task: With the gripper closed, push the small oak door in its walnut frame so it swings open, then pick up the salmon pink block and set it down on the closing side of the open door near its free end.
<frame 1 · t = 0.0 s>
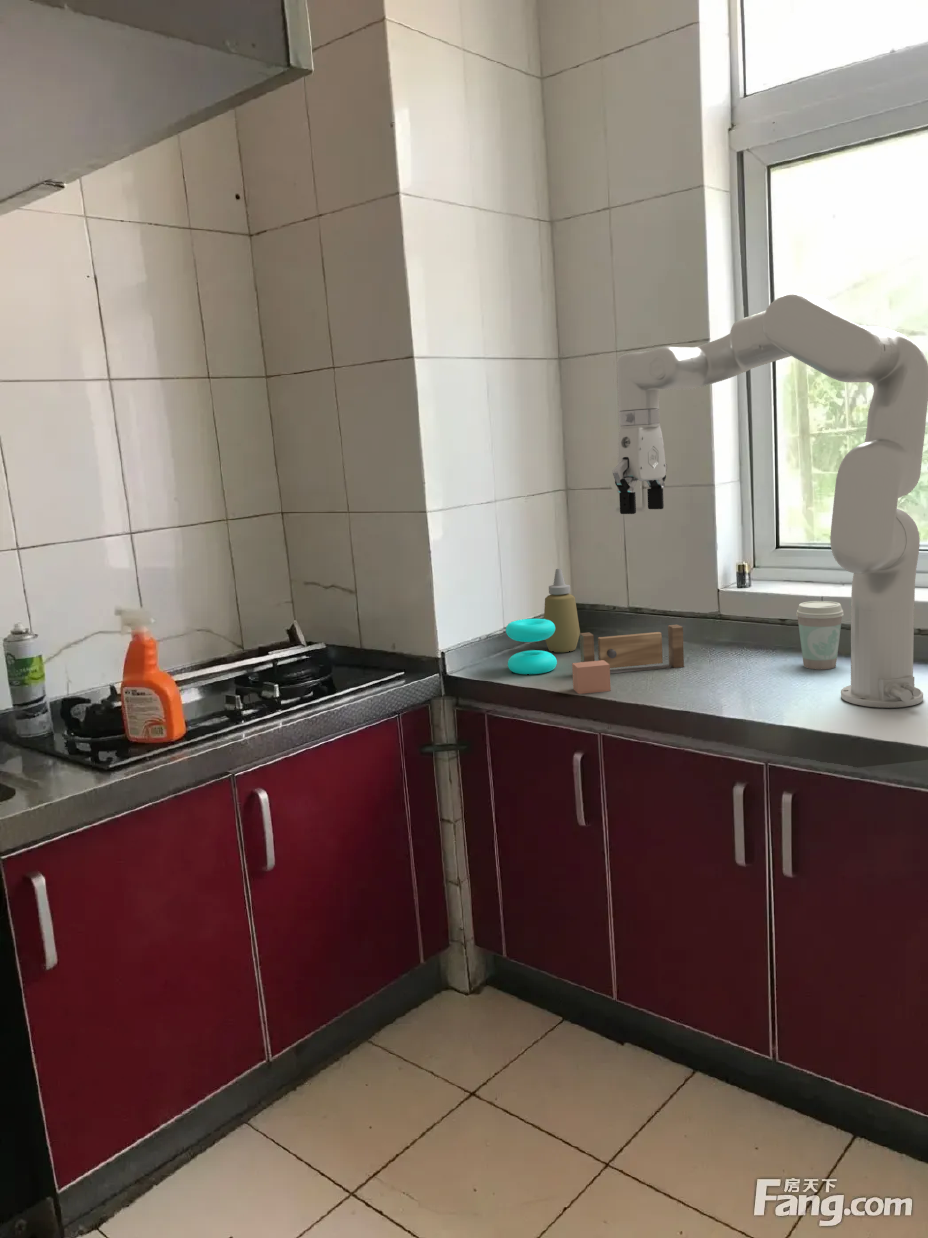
hand: (642, 511, 190), 31 cm above the counter, tool pointing down, fingers open, 9 cm apart
door: (631, 650, 195), point 4 cm above the counter, hinge at 0.0°
salmon pink block: (591, 690, 183), on the counter
coffee cup: (819, 667, 190), on the counter
donuts: (532, 671, 202), on the counter
squeeze bottle: (562, 651, 219), on the counter
door frame: (630, 670, 196), on the counter
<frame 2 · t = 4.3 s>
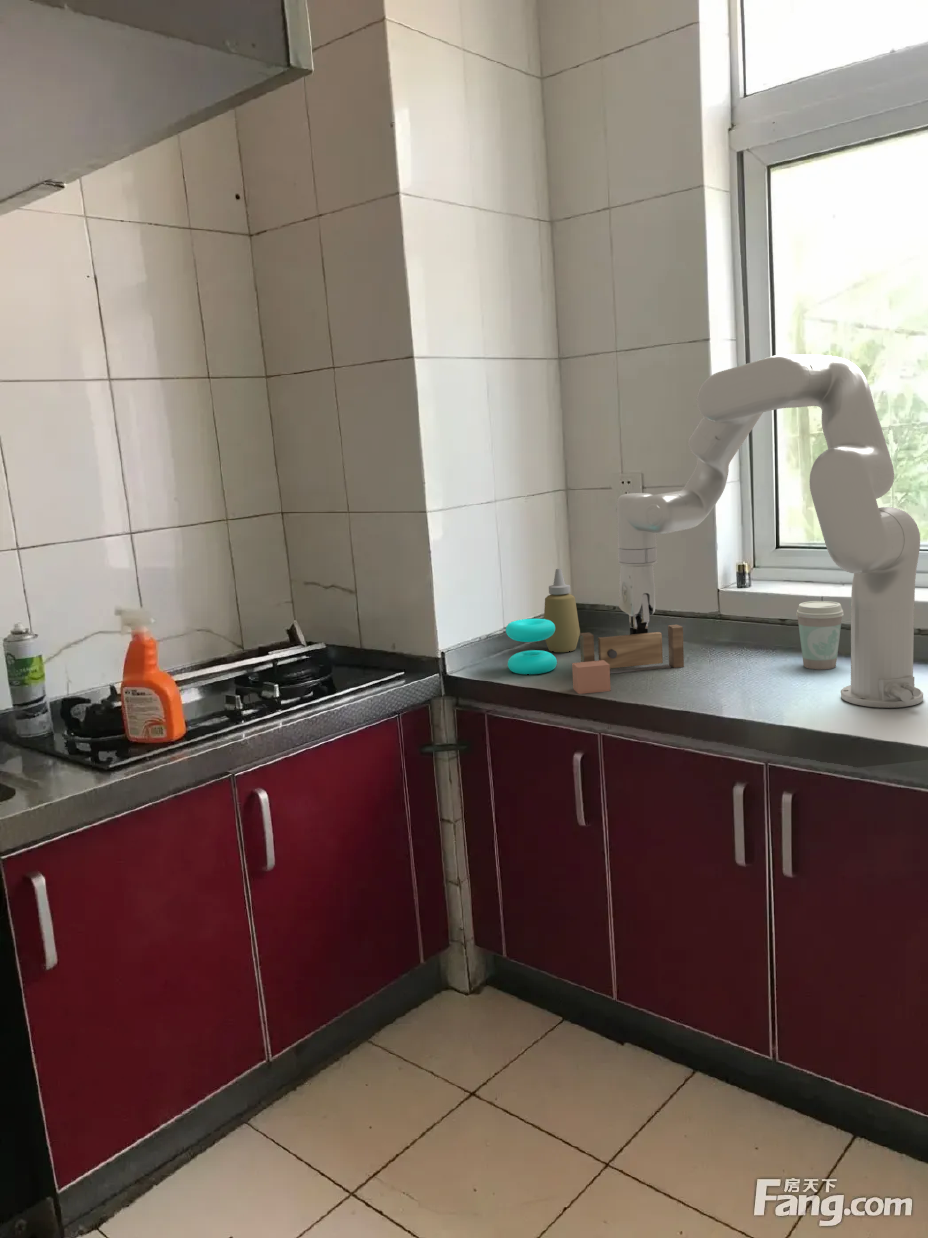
hand: (639, 647, 199), 4 cm above the counter, tool pointing down, fingers closed
door: (631, 651, 195), point 4 cm above the counter, hinge at 1.1°, touching gripper
everything else where it was.
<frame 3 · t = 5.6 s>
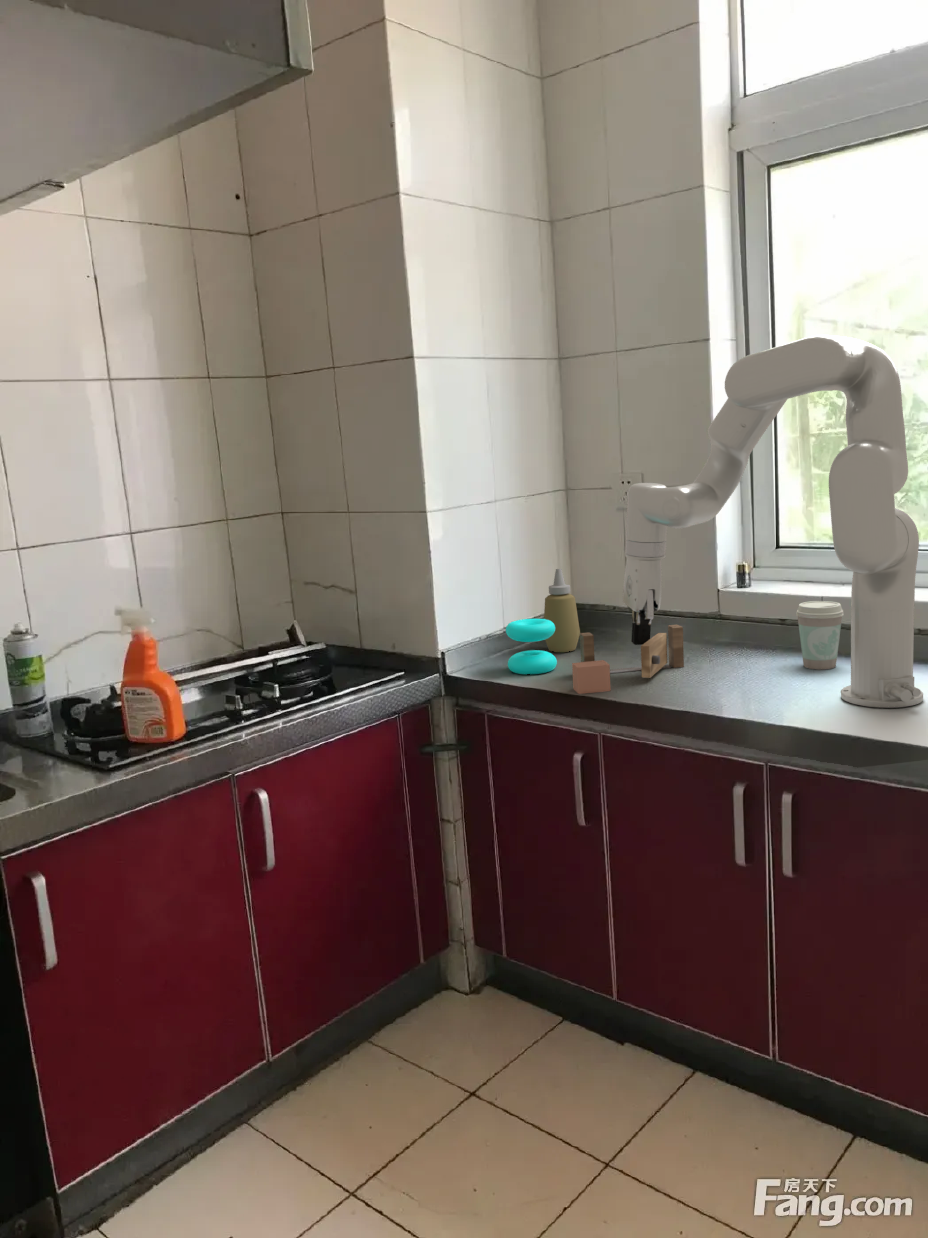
hand: (640, 643, 192), 6 cm above the counter, tool pointing down, fingers closed
door: (657, 654, 190), point 4 cm above the counter, hinge at 56.4°, touching gripper
everything else where it was.
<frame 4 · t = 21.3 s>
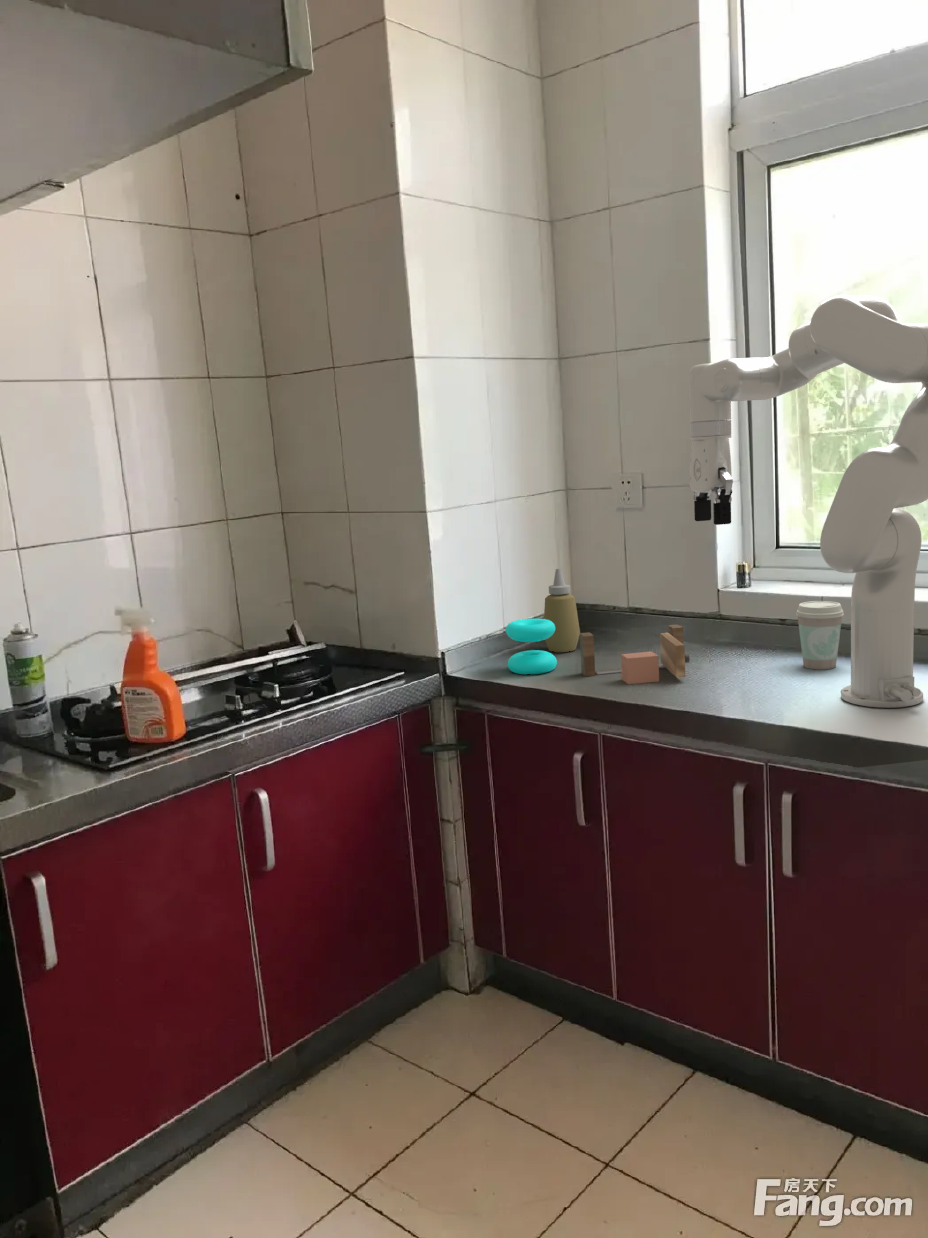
hand: (712, 522, 190), 28 cm above the counter, tool pointing down, fingers open, 9 cm apart
door: (675, 654, 190), point 4 cm above the counter, hinge at 84.6°
salmon pink block: (640, 680, 188), on the counter
everything else where it was.
at the end: door at +85° (first picture: +0°); salmon pink block inside the target area (0.1 cm from its centre), on the counter; salmon pink block tilted 0° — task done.
